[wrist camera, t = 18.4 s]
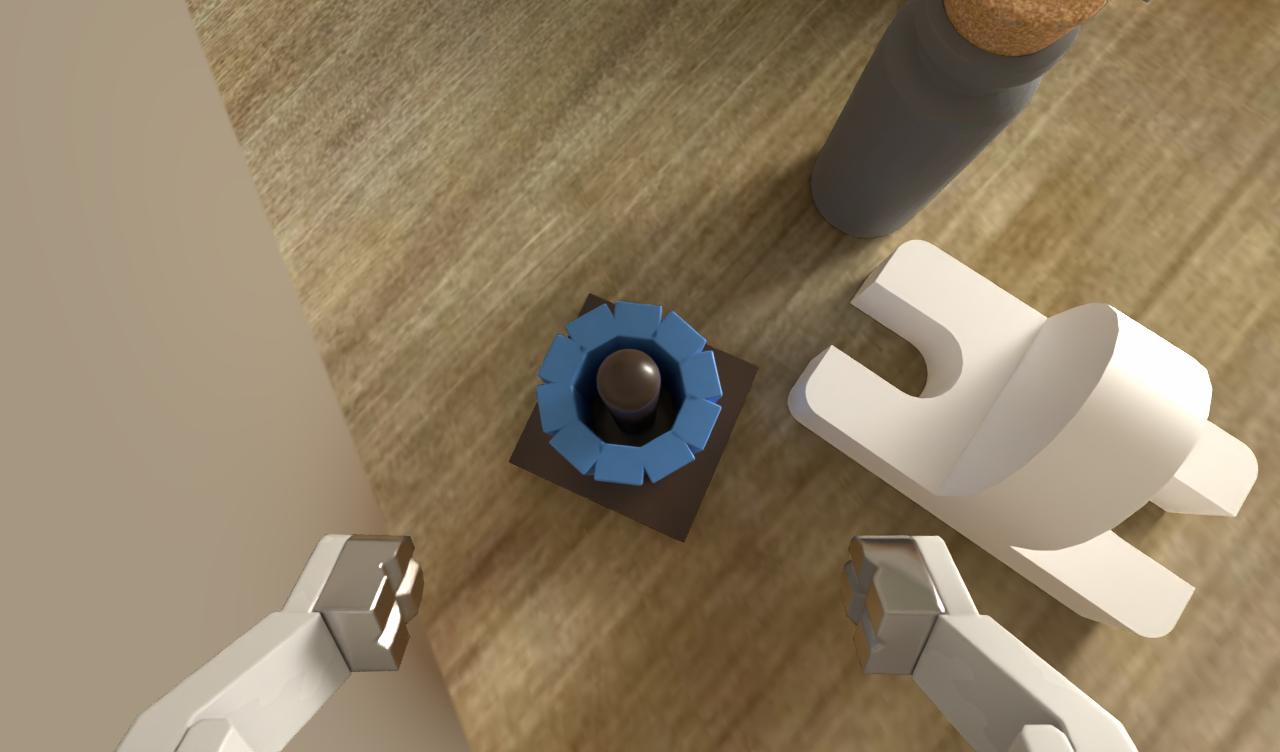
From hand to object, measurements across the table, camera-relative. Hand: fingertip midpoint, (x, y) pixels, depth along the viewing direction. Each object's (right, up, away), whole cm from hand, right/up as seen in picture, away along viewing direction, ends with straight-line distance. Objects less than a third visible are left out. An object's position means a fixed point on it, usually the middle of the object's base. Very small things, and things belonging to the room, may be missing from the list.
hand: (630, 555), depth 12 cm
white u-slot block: (+17, 0, +20) cm, 26 cm away
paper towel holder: (0, +1, +20) cm, 20 cm away
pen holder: (0, +2, +18) cm, 18 cm away
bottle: (+12, +13, +22) cm, 28 cm away
